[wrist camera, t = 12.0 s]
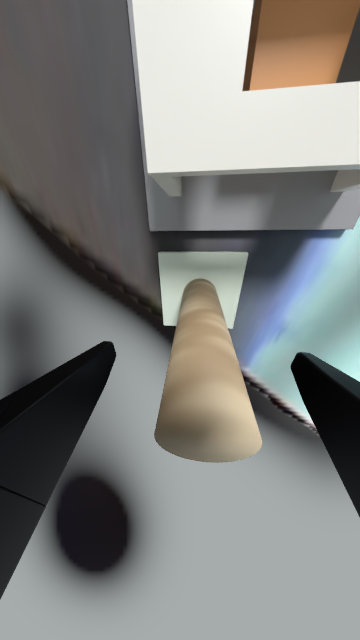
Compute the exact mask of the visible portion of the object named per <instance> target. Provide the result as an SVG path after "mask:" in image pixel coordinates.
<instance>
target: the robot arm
mask: <svg viewBox="0 0 360 640" xmlns="http://www.w3.org/2000/svg"><path fill="white" fill-rule="evenodd" d="M115 358H116V352H115V349H114V345H113V343H112V342H109V341H103V342H101V343H100V344H98V345H96V346H94V347H93V348H91V349H89V350H87V351H85V352H84V353H82V354H80V355H78V356H77V357H75V358H73V359H71V360H70V361H68V362H66V363H64V364H63V365H61V366H59V367H57V368H56V369H54V370H52V371H51V372H49V373H47V374H45V375H43V376H41V377H40V378H38V379H36V380H34V381H32V382H31V383H29V384H27V385H26V386H24V387H22V388H20V389H19V390H18V391H15V392H13V393H11V394H10V395H8V396H6V397H4V398H2V399H1V400H0V599H1V597H2V595H3V593H4V591H5V589H6V587H7V585H8V583H9V581H10V579H11V577H12V575H13V573H14V571H15V569H16V567H17V565H18V563H19V560H20V558H21V556H22V554H23V552H24V550H25V548H26V546H27V544H28V542H29V540H30V538H31V536H32V534H33V532H34V530H35V528H36V526H37V524H38V522H39V520H40V518H41V516H42V514H43V512H44V510H45V508H46V505H47V503H48V501H49V499H50V497H51V495H52V493H53V491H54V489H55V487H56V485H57V483H58V481H59V479H60V477H61V475H62V473H63V471H64V469H65V466H66V465H67V462H68V460H69V458H70V456H71V454H72V452H73V450H74V448H75V446H76V444H77V442H78V440H79V438H80V436H81V434H82V432H83V430H84V428H85V426H86V424H87V422H88V420H89V418H90V416H91V414H92V412H93V410H94V408H95V406H96V404H97V401H98V399H99V397H100V395H101V393H102V391H103V389H104V387H105V385H106V382H107V380H108V377H109V375H110V372H111V369H112V366H113V363H114V361H115ZM291 370H292V373H293V376H294V378H295V381H296V384H297V387H298V389H299V392H300V395H301V397H302V400H303V402H304V404H305V406H306V408H307V410H308V413H309V415H310V417H311V419H312V421H313V423H314V425H315V427H316V429H317V431H318V433H319V435H320V437H321V439H322V441H323V443H324V445H325V447H326V449H327V451H328V453H329V455H330V457H331V459H332V462H333V464H334V466H335V468H336V470H337V472H338V474H339V476H340V478H341V480H342V482H343V484H344V486H345V488H346V490H347V492H348V494H349V496H350V498H351V500H352V502H353V505H354V507H355V508H356V510H357V513H358V515H359V517H360V382H359V381H357V380H355V379H354V378H352V377H350V376H348V375H347V374H345V373H343V372H342V371H340V370H338V369H336V368H335V367H333V366H331V365H329V364H328V363H326V362H324V361H322V360H321V359H319V358H317V357H316V356H314V355H312V354H310V353H306V352H299V353H297V354H296V356H295V358H294V360H293V362H292V363H291Z"/></svg>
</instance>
